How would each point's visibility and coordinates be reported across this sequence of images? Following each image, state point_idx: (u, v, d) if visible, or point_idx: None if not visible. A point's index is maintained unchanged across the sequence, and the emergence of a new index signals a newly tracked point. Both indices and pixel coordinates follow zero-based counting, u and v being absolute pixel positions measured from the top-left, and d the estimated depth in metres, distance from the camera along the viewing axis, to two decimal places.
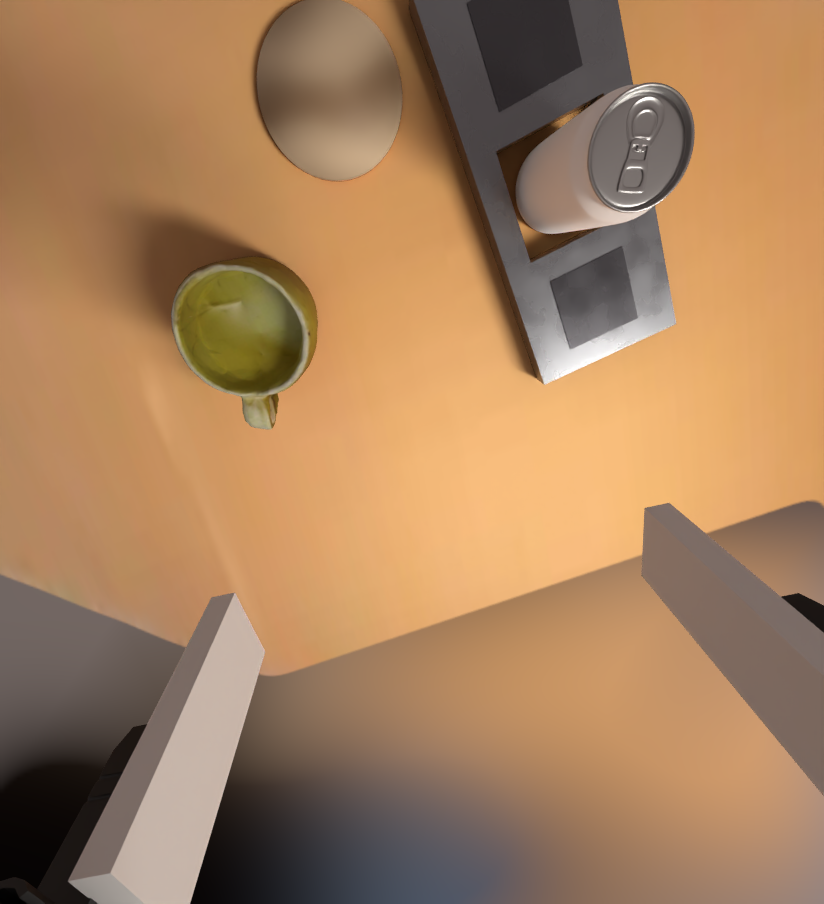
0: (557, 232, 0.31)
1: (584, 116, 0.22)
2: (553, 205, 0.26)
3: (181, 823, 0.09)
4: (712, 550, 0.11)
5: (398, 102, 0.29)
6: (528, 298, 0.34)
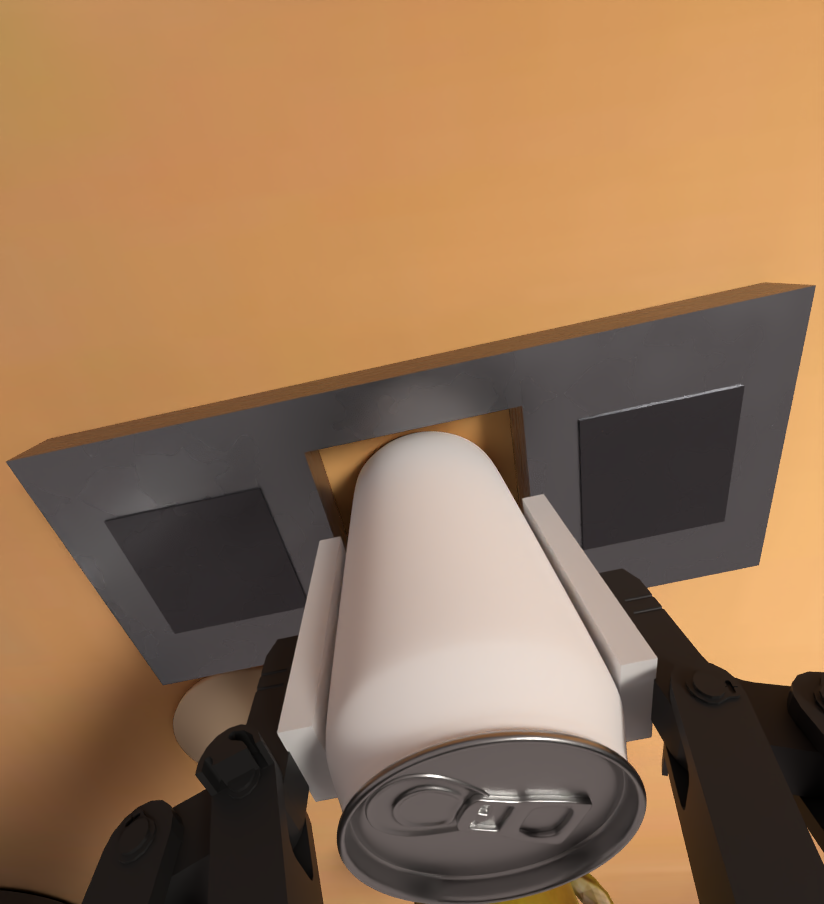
0: None
1: None
2: None
3: None
4: (560, 533, 0.12)
5: None
6: None
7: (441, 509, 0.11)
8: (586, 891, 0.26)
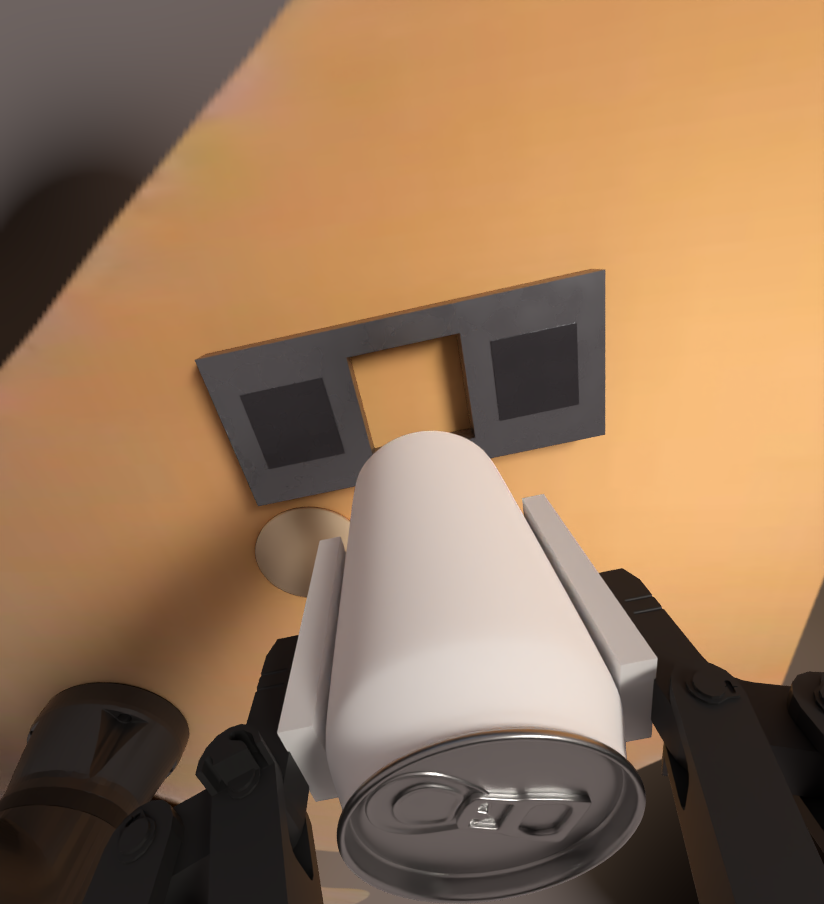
0: None
1: None
2: None
3: None
4: (560, 533, 0.12)
5: (323, 513, 0.36)
6: (508, 442, 0.32)
7: (441, 508, 0.11)
8: None
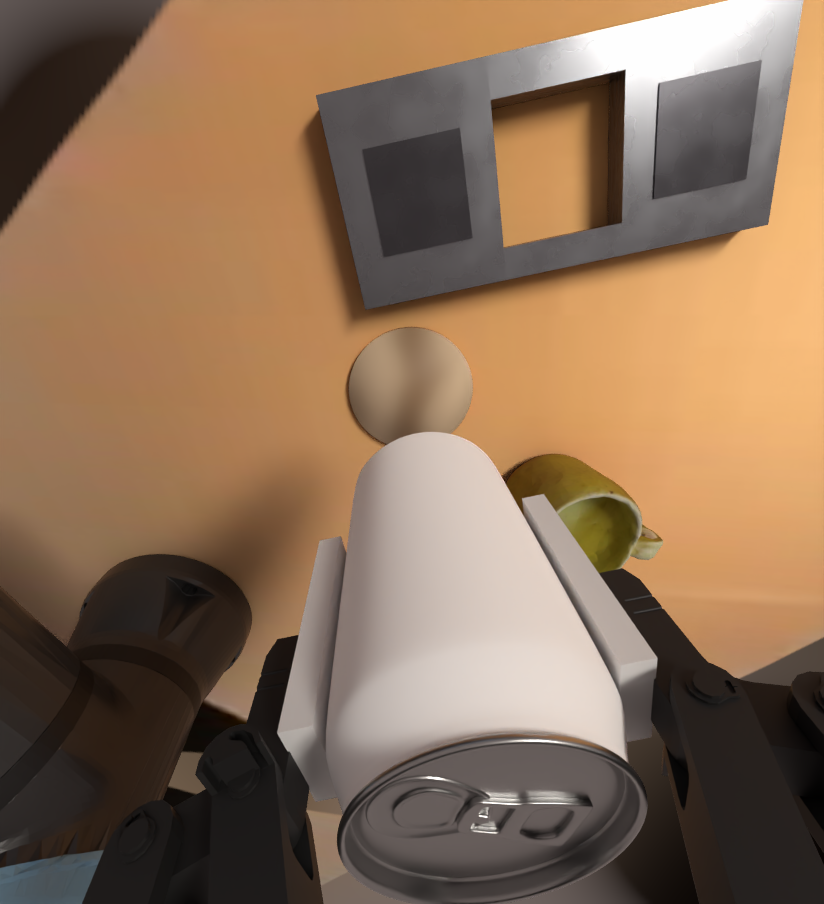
0: None
1: None
2: None
3: None
4: (560, 533, 0.12)
5: (430, 334, 0.31)
6: (657, 231, 0.28)
7: (441, 509, 0.11)
8: None
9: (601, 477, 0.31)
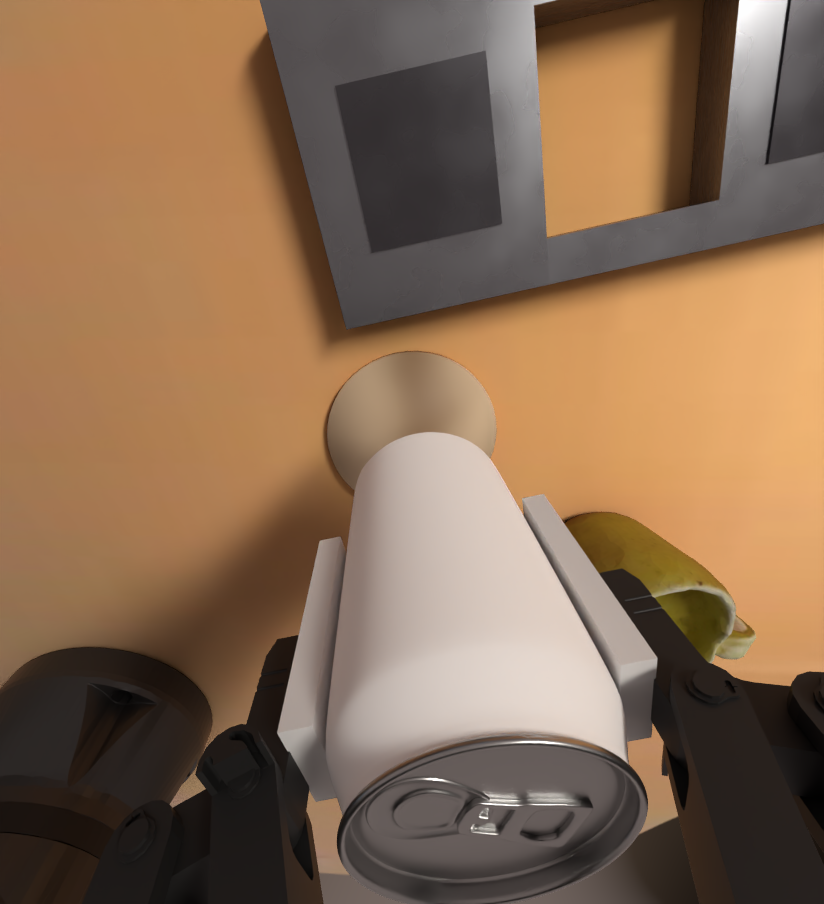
0: None
1: None
2: None
3: None
4: (560, 533, 0.12)
5: (438, 360, 0.23)
6: (768, 212, 0.19)
7: (441, 510, 0.11)
8: None
9: (679, 556, 0.23)
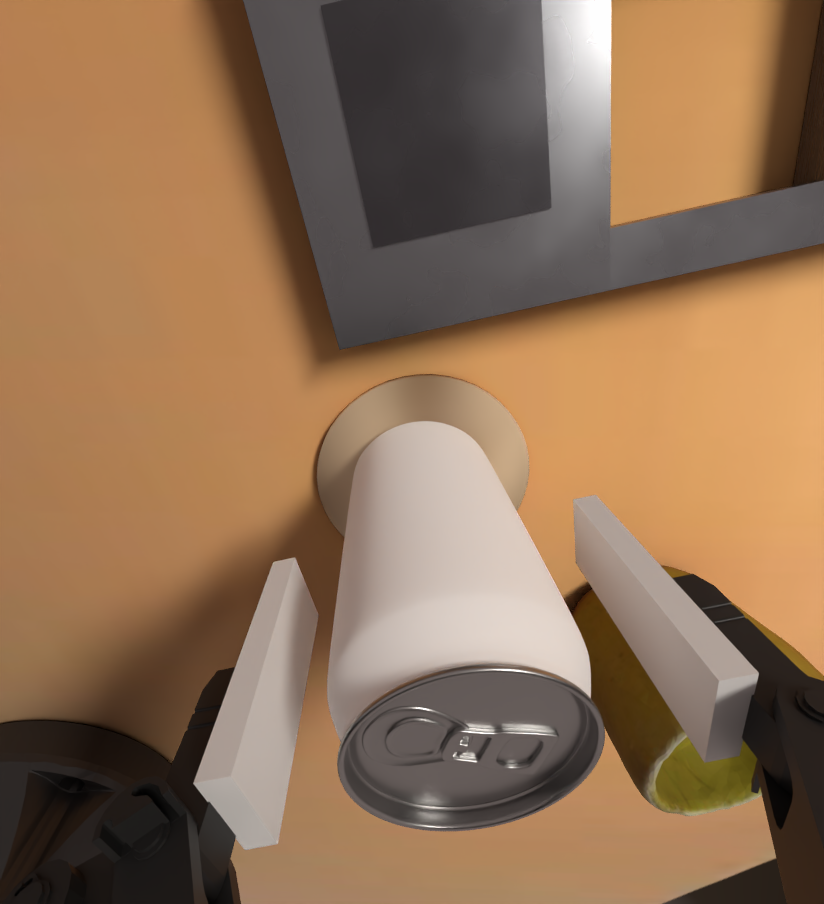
0: None
1: None
2: None
3: (272, 749, 0.10)
4: (622, 536, 0.12)
5: (458, 387, 0.18)
6: None
7: (431, 488, 0.12)
8: None
9: None
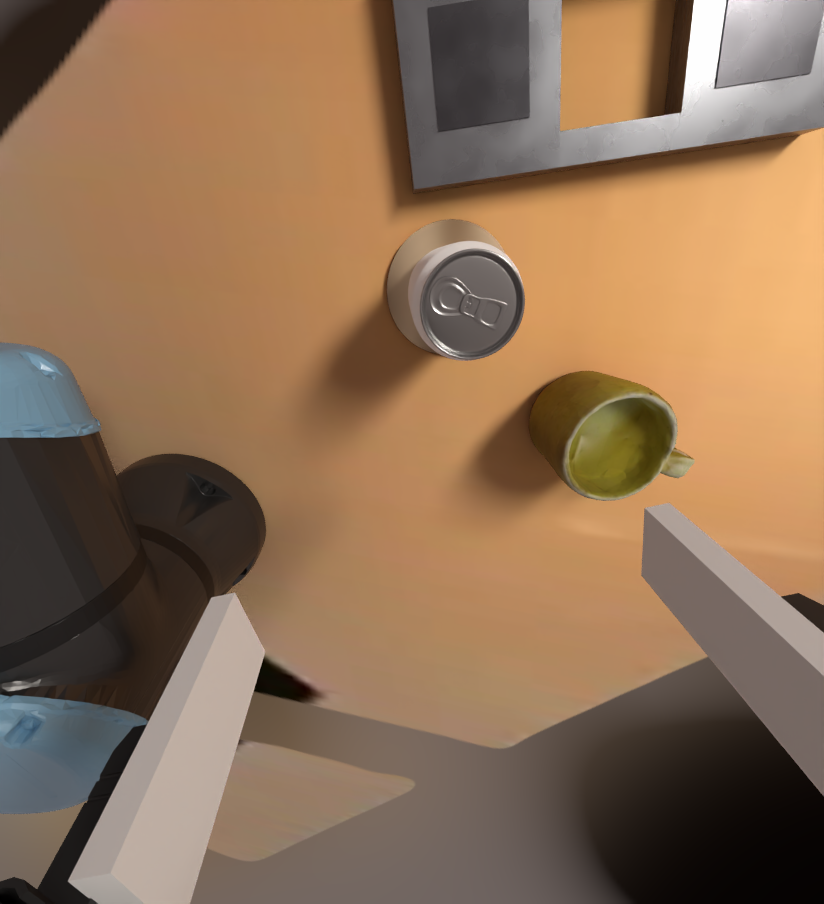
0: None
1: None
2: None
3: (181, 823, 0.09)
4: (712, 550, 0.11)
5: (474, 228, 0.31)
6: (716, 125, 0.27)
7: None
8: None
9: (639, 384, 0.31)
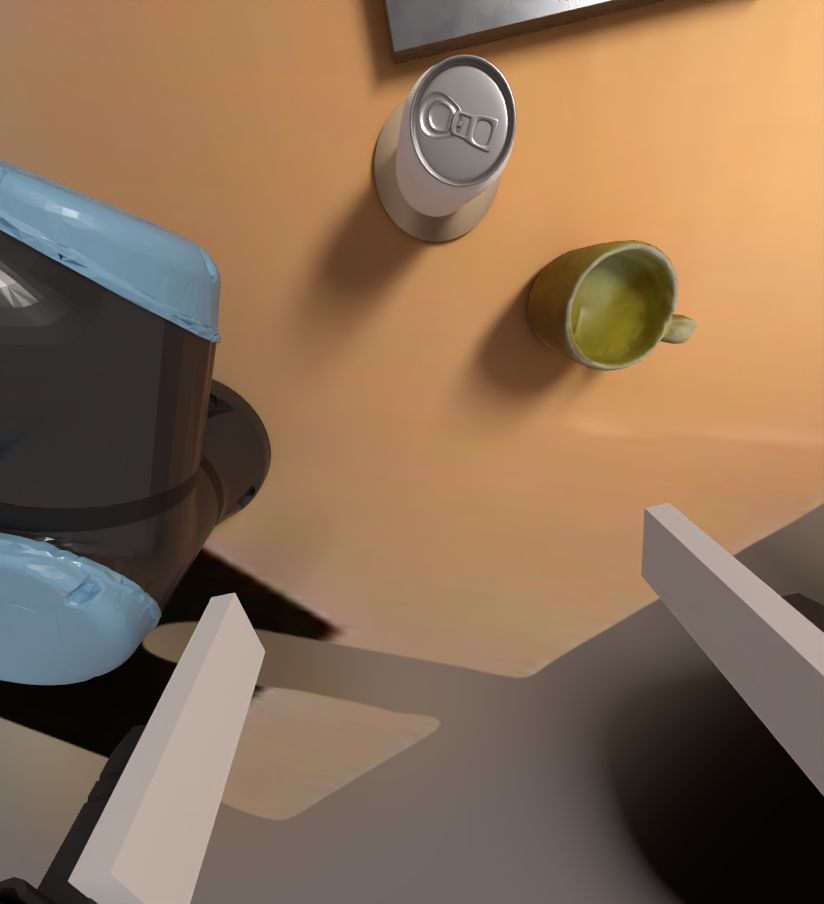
0: None
1: (415, 177, 0.24)
2: (467, 202, 0.27)
3: (181, 823, 0.09)
4: (712, 550, 0.11)
5: None
6: None
7: None
8: None
9: None
